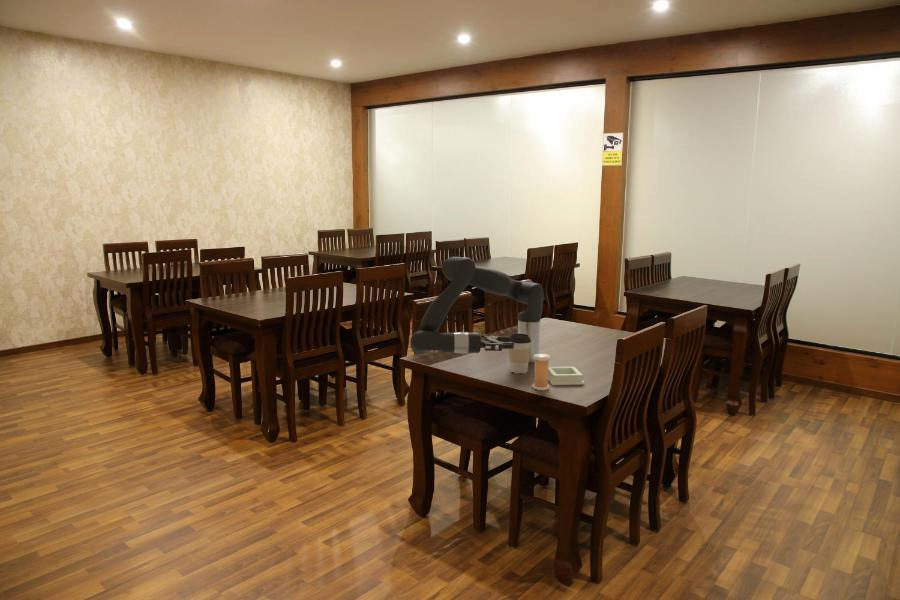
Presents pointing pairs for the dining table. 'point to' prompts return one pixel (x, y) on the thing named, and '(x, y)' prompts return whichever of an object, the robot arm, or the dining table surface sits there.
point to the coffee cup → (519, 353)
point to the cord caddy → (564, 376)
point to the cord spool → (541, 372)
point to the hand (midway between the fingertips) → (511, 342)
